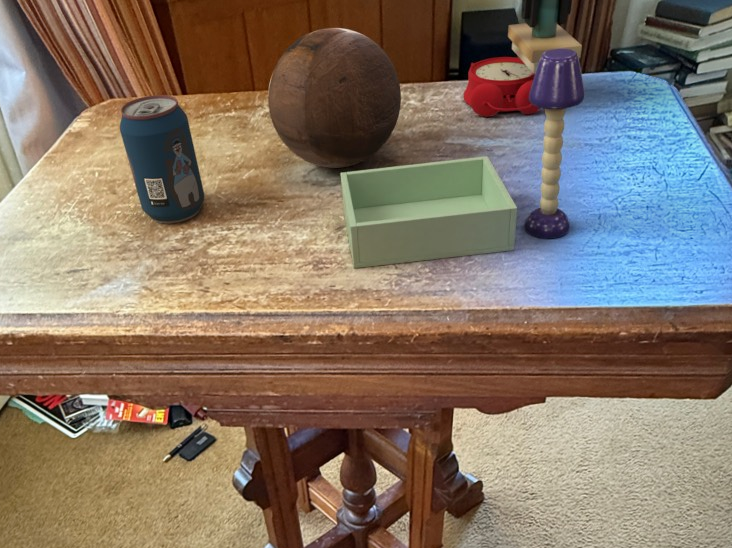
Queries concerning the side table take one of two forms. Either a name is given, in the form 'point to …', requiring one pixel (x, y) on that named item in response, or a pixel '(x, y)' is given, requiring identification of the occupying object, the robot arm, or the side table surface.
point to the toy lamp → (553, 134)
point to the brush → (541, 36)
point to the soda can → (162, 158)
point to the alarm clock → (499, 86)
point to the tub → (427, 212)
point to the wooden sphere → (334, 97)
